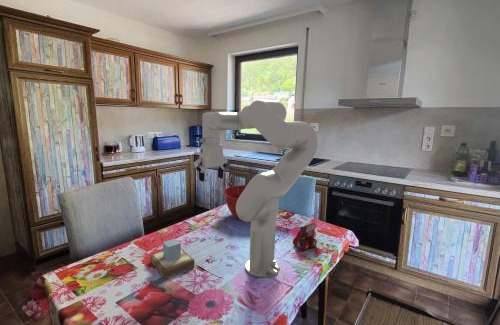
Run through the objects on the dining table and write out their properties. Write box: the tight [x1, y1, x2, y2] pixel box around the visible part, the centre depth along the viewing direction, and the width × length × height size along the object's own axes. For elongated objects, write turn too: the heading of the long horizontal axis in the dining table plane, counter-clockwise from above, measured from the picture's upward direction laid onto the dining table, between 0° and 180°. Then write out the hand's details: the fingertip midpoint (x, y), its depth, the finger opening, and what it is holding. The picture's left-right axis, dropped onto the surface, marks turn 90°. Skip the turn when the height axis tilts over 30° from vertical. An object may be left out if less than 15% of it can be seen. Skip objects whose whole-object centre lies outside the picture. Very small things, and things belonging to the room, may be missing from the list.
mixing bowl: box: [222, 184, 248, 221], centre depth 154 cm, size 28×28×15 cm
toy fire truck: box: [292, 222, 318, 251], centre depth 120 cm, size 7×12×10 cm, turn 128°
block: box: [162, 238, 182, 262], centre depth 103 cm, size 5×5×6 cm
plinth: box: [149, 248, 195, 279], centre depth 104 cm, size 14×12×3 cm
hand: (211, 179), depth 117 cm, fingers open, 9 cm apart
